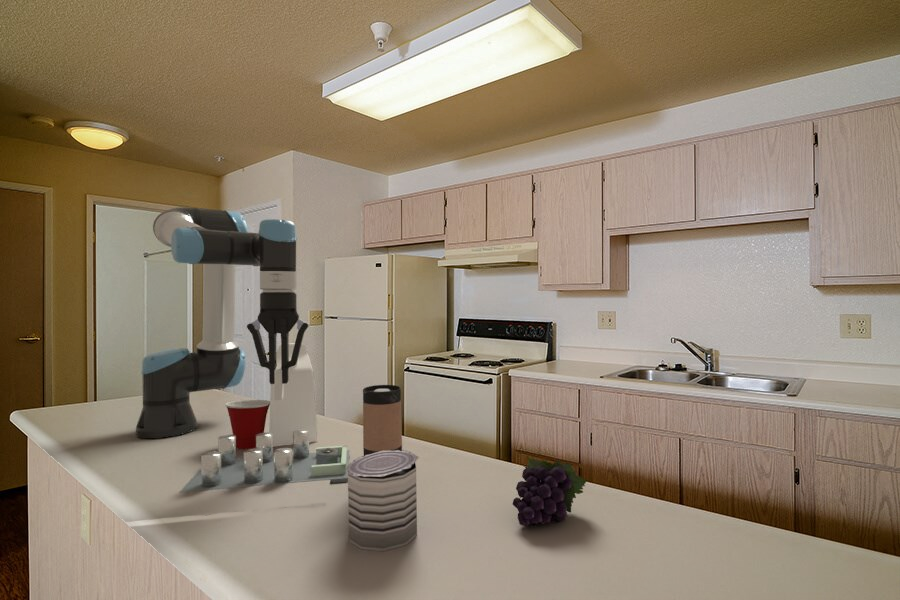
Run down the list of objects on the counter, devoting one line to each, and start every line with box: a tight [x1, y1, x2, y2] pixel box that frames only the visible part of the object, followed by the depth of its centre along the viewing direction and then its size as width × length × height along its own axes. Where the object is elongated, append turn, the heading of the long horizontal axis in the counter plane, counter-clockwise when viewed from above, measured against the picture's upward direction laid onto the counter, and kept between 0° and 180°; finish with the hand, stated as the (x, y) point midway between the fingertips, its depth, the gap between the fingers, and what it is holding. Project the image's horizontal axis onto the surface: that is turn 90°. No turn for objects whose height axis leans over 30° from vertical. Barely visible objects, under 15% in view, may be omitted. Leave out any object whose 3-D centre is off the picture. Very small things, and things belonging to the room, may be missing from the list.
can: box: [345, 449, 420, 552], centre depth 77 cm, size 11×11×12 cm
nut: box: [315, 448, 338, 465], centre depth 106 cm, size 5×4×3 cm
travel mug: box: [362, 384, 403, 456], centre depth 95 cm, size 8×8×20 cm
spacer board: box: [179, 449, 350, 493], centre depth 104 cm, size 18×32×1 cm, turn 101°
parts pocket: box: [311, 445, 348, 477], centre depth 107 cm, size 13×7×2 cm, turn 11°
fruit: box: [511, 457, 587, 527], centre depth 81 cm, size 10×10×15 cm
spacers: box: [200, 429, 310, 487], centre depth 104 cm, size 18×20×6 cm
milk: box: [268, 342, 319, 448], centre depth 127 cm, size 12×12×26 cm
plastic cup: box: [224, 399, 270, 451], centre depth 121 cm, size 11×11×12 cm
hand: (279, 398), depth 105 cm, fingers closed
